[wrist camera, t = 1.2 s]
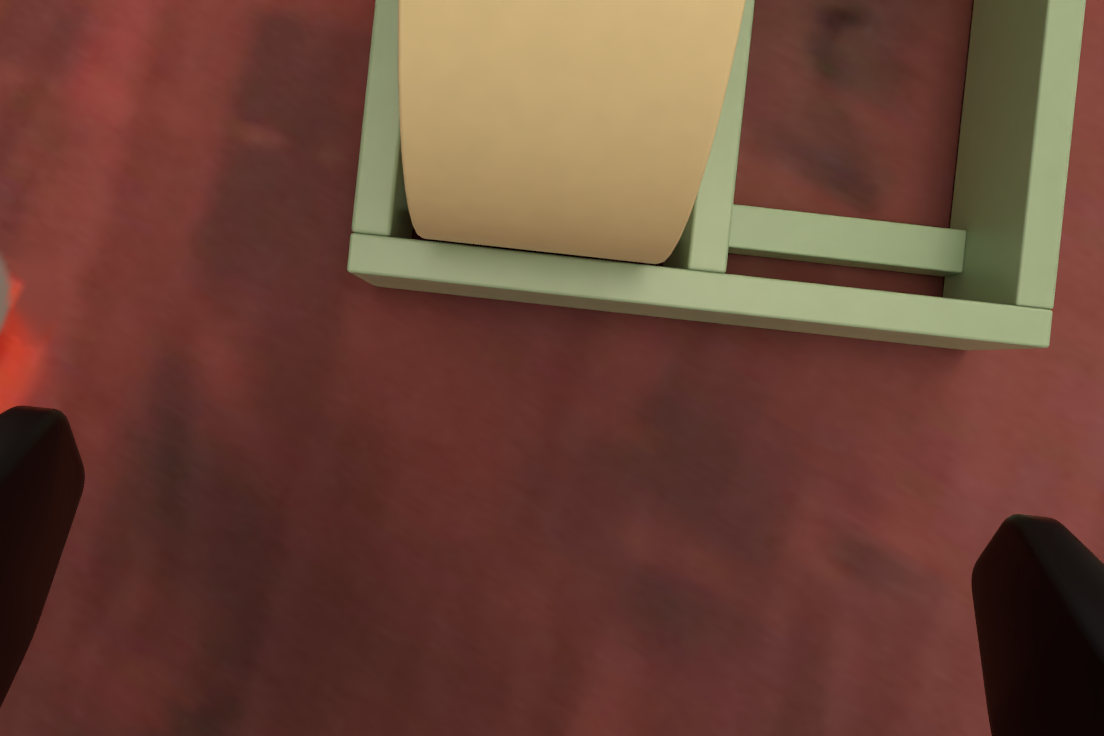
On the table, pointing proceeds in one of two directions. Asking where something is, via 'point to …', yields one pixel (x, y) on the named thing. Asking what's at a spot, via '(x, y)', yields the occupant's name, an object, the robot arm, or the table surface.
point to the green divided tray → (795, 214)
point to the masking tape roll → (561, 120)
